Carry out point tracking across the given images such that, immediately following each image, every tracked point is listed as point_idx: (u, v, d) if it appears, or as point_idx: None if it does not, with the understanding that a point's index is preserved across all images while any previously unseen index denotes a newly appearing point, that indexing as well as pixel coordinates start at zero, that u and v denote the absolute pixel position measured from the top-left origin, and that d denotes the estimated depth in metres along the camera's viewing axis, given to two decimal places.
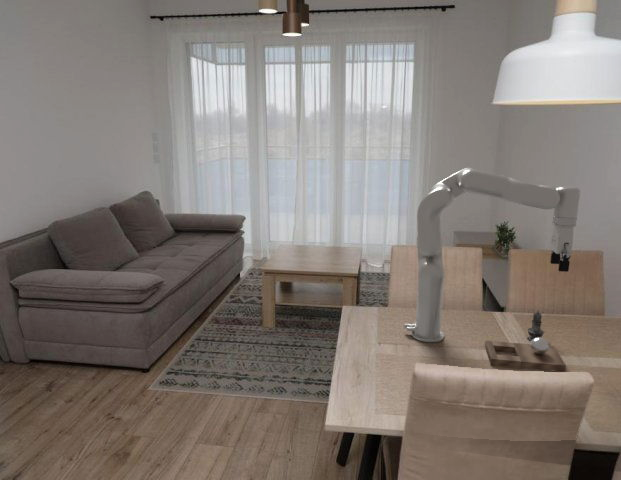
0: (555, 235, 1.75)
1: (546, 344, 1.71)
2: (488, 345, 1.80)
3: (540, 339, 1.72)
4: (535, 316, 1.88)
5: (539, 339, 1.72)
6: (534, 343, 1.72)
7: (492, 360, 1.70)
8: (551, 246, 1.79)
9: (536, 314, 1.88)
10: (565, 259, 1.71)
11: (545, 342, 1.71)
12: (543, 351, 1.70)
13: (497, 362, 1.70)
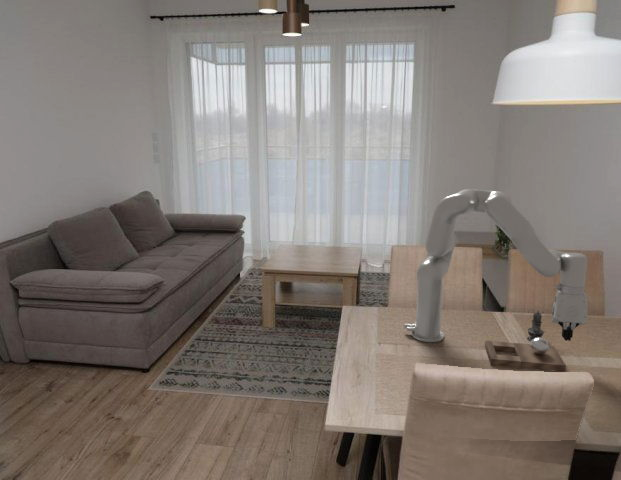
0: (576, 306, 1.65)
1: (546, 344, 1.71)
2: (488, 345, 1.80)
3: (540, 339, 1.72)
4: (535, 316, 1.88)
5: (539, 339, 1.72)
6: (534, 343, 1.72)
7: (492, 360, 1.70)
8: (565, 318, 1.66)
9: (536, 314, 1.88)
10: None
11: (545, 342, 1.71)
12: (543, 351, 1.70)
13: (497, 362, 1.70)
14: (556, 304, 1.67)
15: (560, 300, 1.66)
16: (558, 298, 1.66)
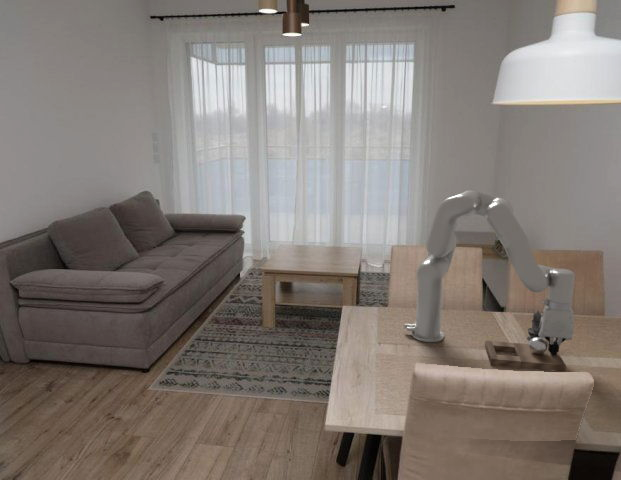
0: (563, 321, 1.67)
1: (544, 344, 1.71)
2: (488, 345, 1.80)
3: (538, 339, 1.72)
4: (535, 316, 1.88)
5: (537, 339, 1.72)
6: (532, 343, 1.72)
7: (492, 360, 1.70)
8: (552, 334, 1.69)
9: (536, 314, 1.88)
10: None
11: (543, 342, 1.71)
12: (541, 350, 1.71)
13: (497, 362, 1.70)
14: (543, 319, 1.69)
15: (547, 315, 1.68)
16: (545, 313, 1.68)
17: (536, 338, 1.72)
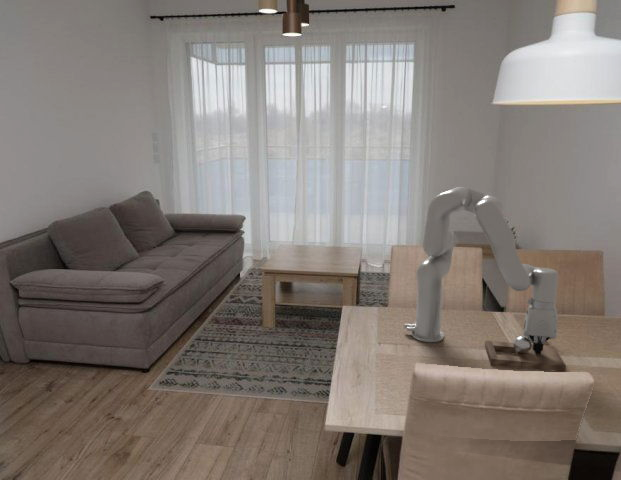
0: (547, 320, 1.68)
1: (527, 341, 1.72)
2: (488, 345, 1.80)
3: (520, 338, 1.73)
4: None
5: (519, 338, 1.73)
6: (516, 343, 1.73)
7: (492, 360, 1.70)
8: (536, 332, 1.70)
9: None
10: None
11: (526, 340, 1.72)
12: (526, 349, 1.71)
13: (497, 362, 1.70)
14: (527, 318, 1.70)
15: (531, 314, 1.69)
16: (529, 312, 1.69)
17: (518, 337, 1.74)
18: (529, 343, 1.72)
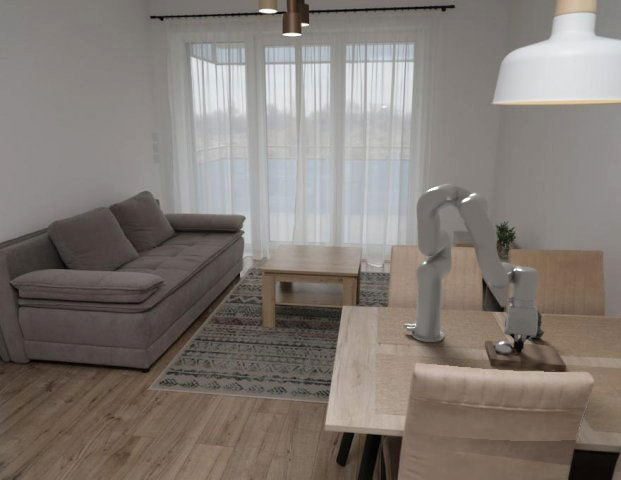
0: (527, 318, 1.69)
1: (498, 348, 1.75)
2: (488, 345, 1.80)
3: None
4: None
5: (497, 354, 1.76)
6: None
7: (492, 360, 1.70)
8: (516, 331, 1.71)
9: None
10: None
11: (497, 349, 1.75)
12: (506, 350, 1.73)
13: (497, 362, 1.70)
14: (508, 316, 1.71)
15: (511, 313, 1.70)
16: (509, 311, 1.71)
17: (497, 354, 1.77)
18: (500, 347, 1.74)
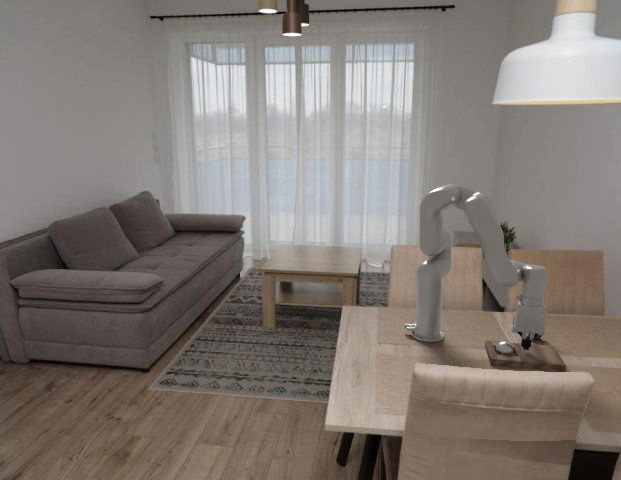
0: (535, 317, 1.68)
1: (499, 348, 1.74)
2: (488, 345, 1.80)
3: (497, 353, 1.76)
4: None
5: None
6: None
7: (492, 360, 1.70)
8: (524, 329, 1.70)
9: None
10: None
11: (498, 349, 1.75)
12: (507, 350, 1.73)
13: (497, 362, 1.70)
14: (516, 314, 1.71)
15: (520, 311, 1.69)
16: (518, 309, 1.70)
17: (497, 353, 1.77)
18: (501, 346, 1.74)
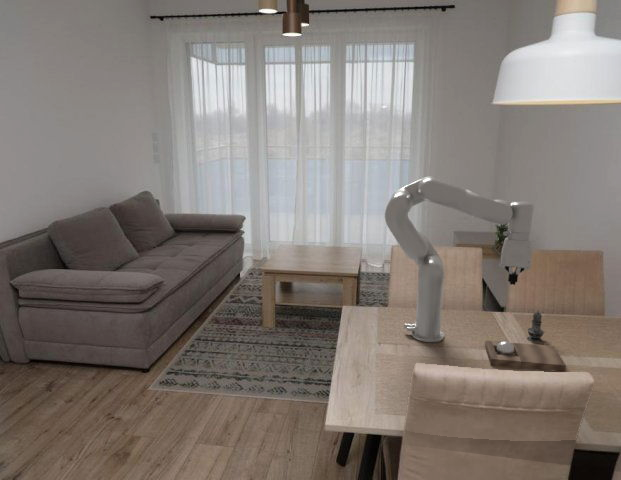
0: (521, 251, 1.76)
1: (500, 348, 1.74)
2: (488, 345, 1.80)
3: (497, 352, 1.76)
4: (535, 316, 1.88)
5: (498, 353, 1.76)
6: None
7: (492, 360, 1.70)
8: (510, 263, 1.78)
9: (536, 314, 1.88)
10: None
11: (499, 348, 1.75)
12: (508, 350, 1.73)
13: (497, 362, 1.70)
14: (503, 249, 1.79)
15: (506, 245, 1.77)
16: (505, 243, 1.78)
17: None
18: (502, 346, 1.74)
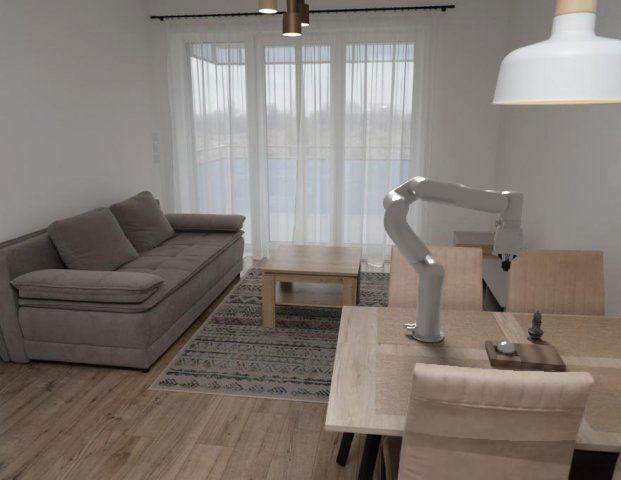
0: (513, 238, 1.82)
1: (501, 347, 1.74)
2: (488, 345, 1.80)
3: (498, 352, 1.76)
4: (535, 316, 1.88)
5: None
6: None
7: (492, 360, 1.70)
8: (503, 250, 1.84)
9: (536, 314, 1.88)
10: None
11: (500, 348, 1.75)
12: (508, 351, 1.73)
13: (497, 362, 1.70)
14: (495, 237, 1.84)
15: (499, 233, 1.83)
16: (497, 232, 1.84)
17: (498, 352, 1.76)
18: (503, 346, 1.74)
